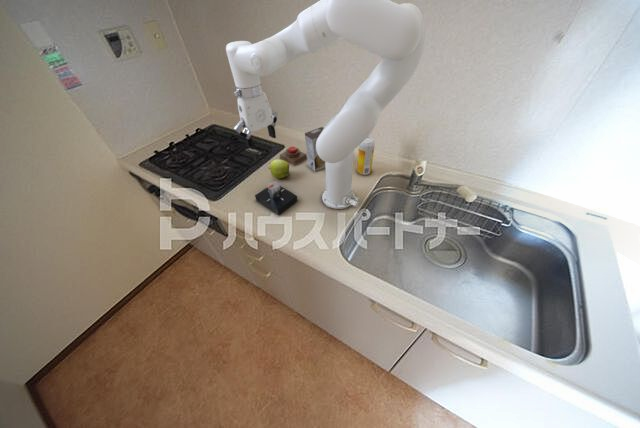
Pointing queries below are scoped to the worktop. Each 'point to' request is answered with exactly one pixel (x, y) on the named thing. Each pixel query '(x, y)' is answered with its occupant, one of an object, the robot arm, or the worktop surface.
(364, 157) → the beer can
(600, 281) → the worktop surface
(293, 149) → the drain button
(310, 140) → the coffee box
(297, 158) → the switch block
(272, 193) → the tap knob
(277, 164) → the apple
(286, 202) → the plate
